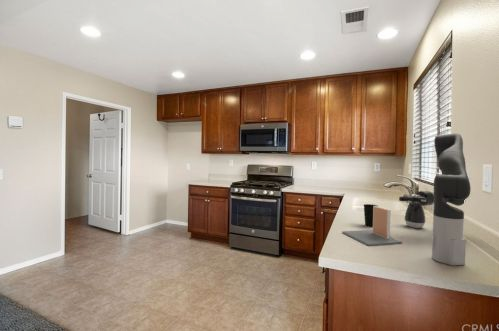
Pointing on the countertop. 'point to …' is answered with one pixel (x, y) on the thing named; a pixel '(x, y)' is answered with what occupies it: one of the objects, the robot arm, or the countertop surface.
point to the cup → (368, 214)
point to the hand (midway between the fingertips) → (400, 199)
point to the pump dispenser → (415, 215)
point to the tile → (381, 221)
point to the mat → (370, 238)
